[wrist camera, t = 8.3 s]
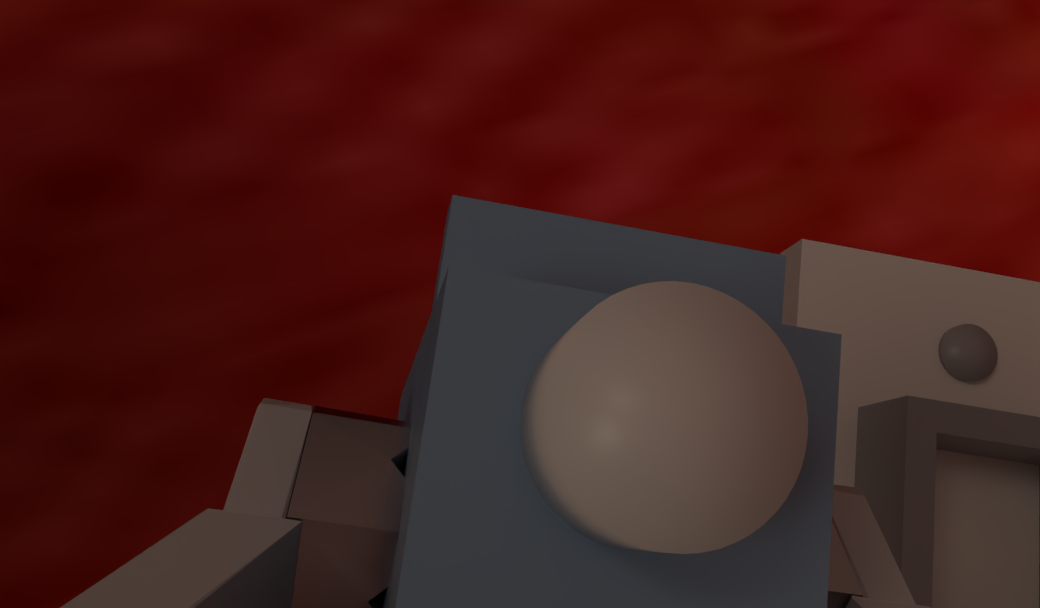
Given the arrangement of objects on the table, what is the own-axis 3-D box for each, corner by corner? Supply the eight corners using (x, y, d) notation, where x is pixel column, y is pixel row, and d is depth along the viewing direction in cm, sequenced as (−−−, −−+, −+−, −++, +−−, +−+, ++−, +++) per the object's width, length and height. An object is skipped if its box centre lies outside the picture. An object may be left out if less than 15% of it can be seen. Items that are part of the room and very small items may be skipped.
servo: (569, 775, 14) (880, 1133, 6) (343, 751, 13) (327, 1098, 5) (615, 362, 15) (914, 175, 7) (412, 329, 15) (483, 91, 7)
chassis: (1092, 882, 26) (1218, 942, 22) (738, 846, 25) (807, 904, 21) (1087, 308, 30) (1194, 276, 26) (780, 253, 29) (844, 211, 25)
